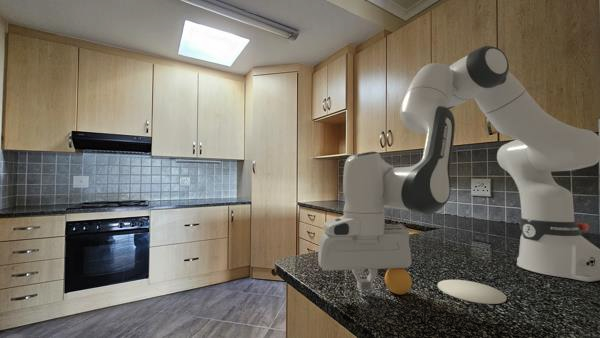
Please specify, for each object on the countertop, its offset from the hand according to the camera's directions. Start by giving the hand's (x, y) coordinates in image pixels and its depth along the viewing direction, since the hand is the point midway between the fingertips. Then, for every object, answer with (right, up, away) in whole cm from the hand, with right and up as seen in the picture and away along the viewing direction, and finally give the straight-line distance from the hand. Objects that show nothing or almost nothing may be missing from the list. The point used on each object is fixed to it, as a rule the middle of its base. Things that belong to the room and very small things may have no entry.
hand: (364, 288), depth 56 cm
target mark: (+24, -2, +2) cm, 25 cm away
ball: (+7, +1, +1) cm, 8 cm away
